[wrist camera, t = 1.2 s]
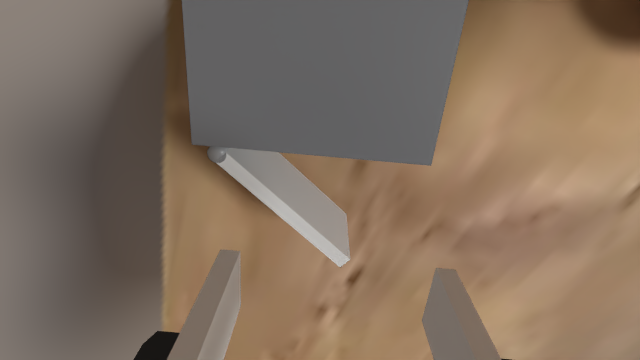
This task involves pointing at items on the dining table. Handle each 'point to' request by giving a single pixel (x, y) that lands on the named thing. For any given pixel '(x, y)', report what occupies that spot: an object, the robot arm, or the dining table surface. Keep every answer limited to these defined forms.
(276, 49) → the block
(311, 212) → the door
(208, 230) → the dining table surface
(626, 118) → the dining table surface
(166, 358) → the robot arm
